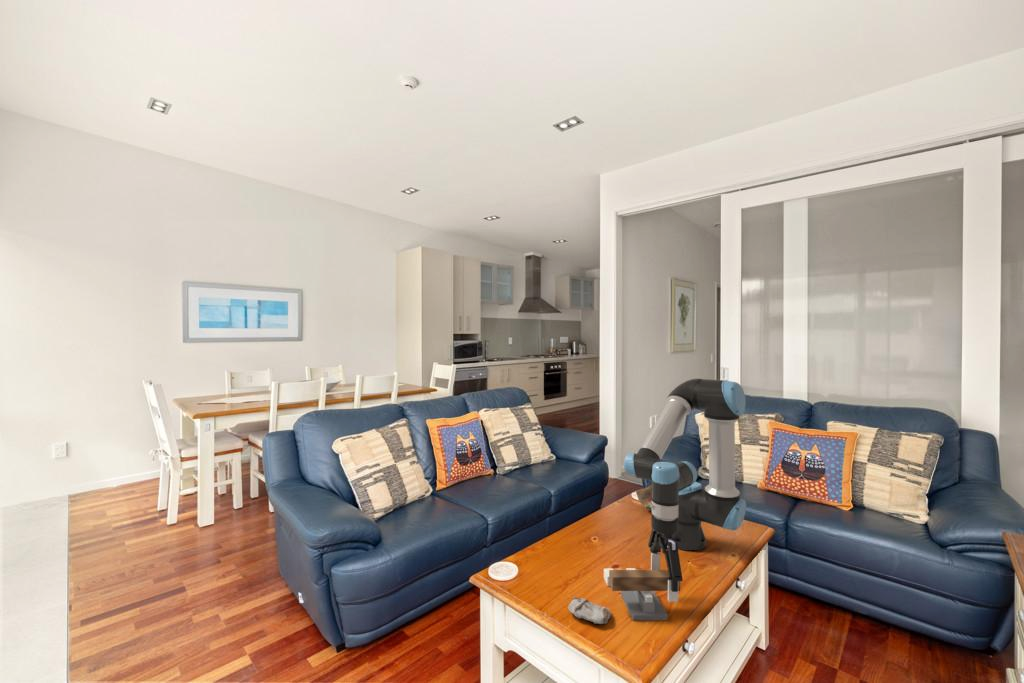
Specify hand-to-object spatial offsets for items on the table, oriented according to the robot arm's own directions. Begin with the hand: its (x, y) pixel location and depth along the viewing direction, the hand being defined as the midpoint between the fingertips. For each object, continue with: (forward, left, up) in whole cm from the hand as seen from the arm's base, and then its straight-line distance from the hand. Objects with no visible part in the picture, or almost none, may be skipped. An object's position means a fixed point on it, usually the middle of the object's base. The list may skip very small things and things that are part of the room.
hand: (663, 587), depth 130 cm
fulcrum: (+6, 0, -6) cm, 8 cm away
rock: (-21, -72, -6) cm, 75 cm away
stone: (+23, +3, -6) cm, 24 cm away
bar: (+6, 0, 0) cm, 6 cm away
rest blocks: (+9, -13, -6) cm, 17 cm away
